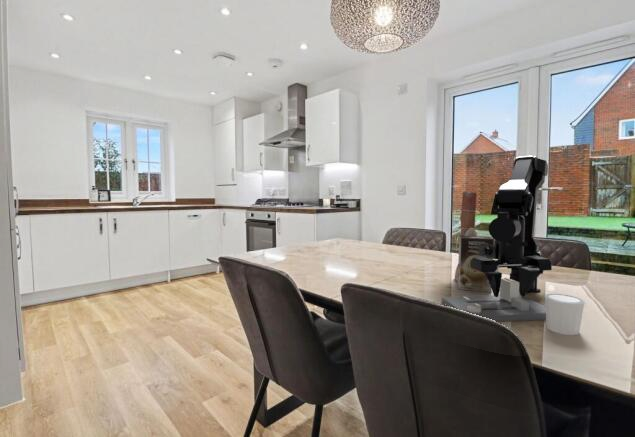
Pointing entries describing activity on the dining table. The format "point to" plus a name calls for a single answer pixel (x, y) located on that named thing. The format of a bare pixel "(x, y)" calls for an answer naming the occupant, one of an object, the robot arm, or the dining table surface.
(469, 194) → the vase
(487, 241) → the coffee box
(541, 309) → the console
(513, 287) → the fader
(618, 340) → the dining table surface
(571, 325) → the white cup
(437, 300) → the dining table surface
